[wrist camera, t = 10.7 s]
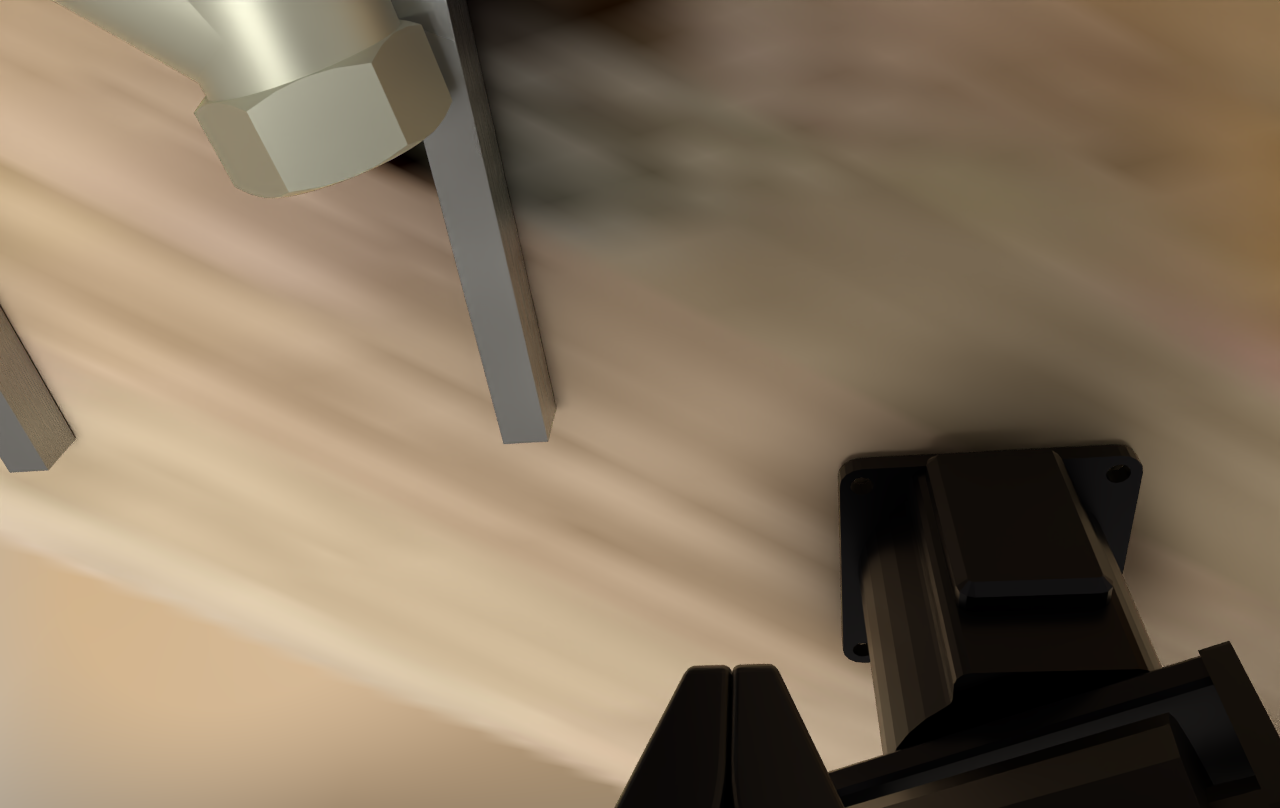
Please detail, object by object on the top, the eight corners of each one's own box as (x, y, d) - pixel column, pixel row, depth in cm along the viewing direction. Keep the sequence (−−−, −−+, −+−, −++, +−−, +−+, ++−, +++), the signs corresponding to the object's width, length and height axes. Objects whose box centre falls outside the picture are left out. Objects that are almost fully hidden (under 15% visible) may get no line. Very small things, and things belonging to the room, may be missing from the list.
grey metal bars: (569, 408, 23) (559, 452, 21) (27, 442, 25) (-12, 483, 23) (295, -887, 12) (241, -956, 11) (-635, -649, 14) (-777, -683, 12)
